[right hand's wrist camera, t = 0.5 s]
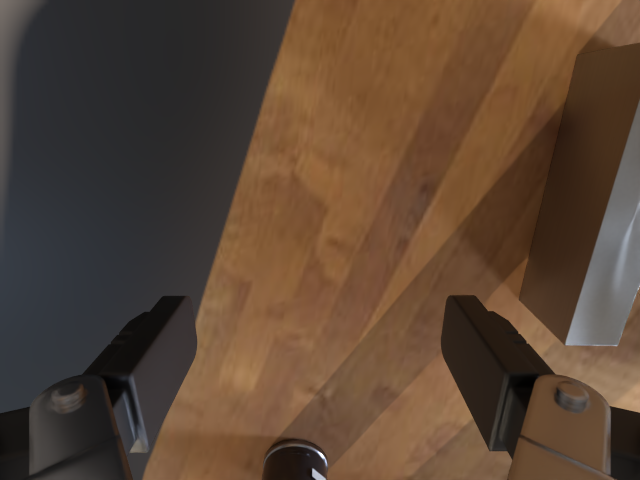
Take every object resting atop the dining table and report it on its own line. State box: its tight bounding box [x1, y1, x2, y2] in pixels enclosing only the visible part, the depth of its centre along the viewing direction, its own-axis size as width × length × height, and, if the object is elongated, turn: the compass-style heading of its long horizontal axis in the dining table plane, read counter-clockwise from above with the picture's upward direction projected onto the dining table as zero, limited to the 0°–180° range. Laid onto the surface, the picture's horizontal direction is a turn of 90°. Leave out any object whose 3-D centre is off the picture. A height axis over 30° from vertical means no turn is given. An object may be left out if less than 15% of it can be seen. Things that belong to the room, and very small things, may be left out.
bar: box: [519, 43, 640, 346], centre depth 35 cm, size 27×5×9 cm, turn 179°
